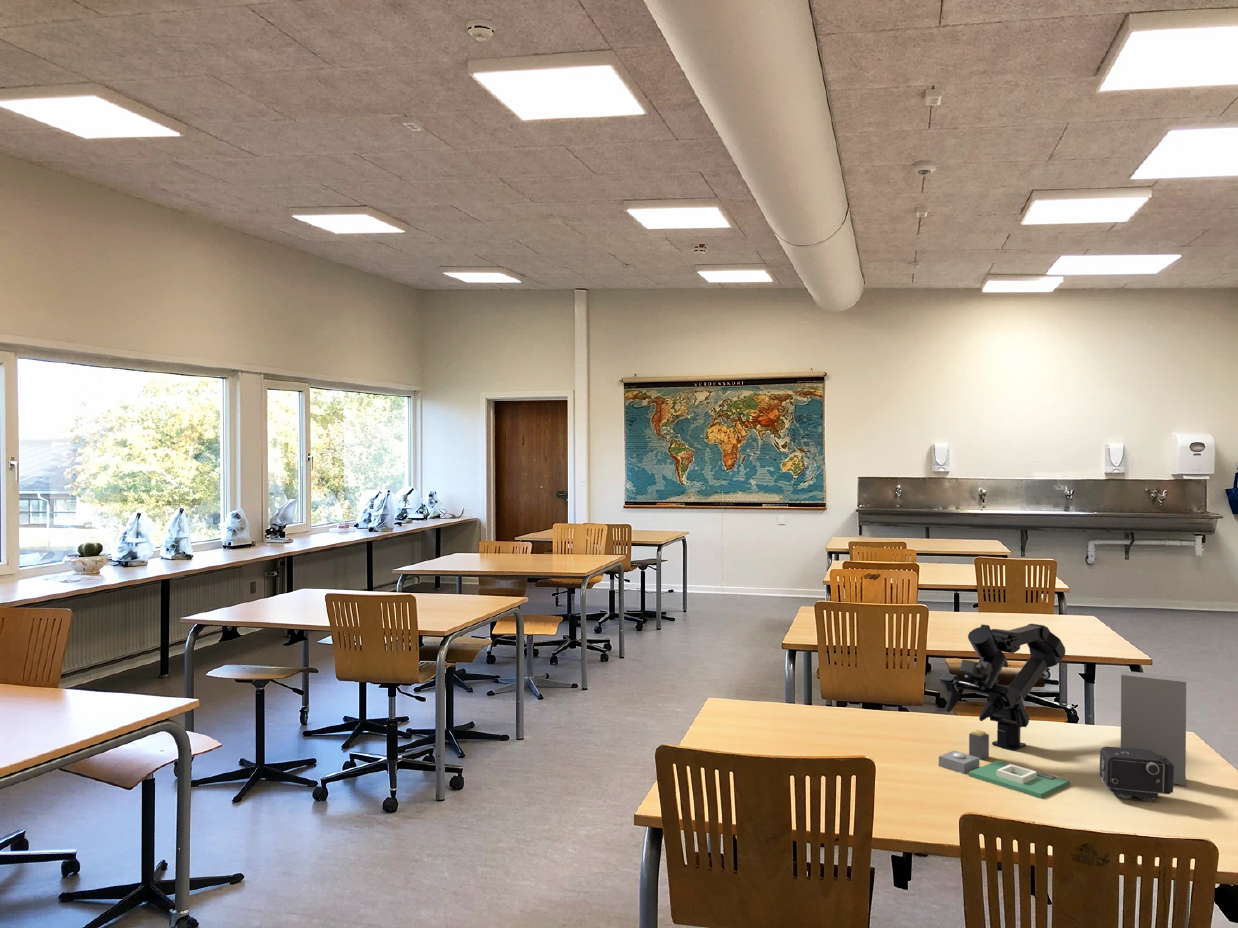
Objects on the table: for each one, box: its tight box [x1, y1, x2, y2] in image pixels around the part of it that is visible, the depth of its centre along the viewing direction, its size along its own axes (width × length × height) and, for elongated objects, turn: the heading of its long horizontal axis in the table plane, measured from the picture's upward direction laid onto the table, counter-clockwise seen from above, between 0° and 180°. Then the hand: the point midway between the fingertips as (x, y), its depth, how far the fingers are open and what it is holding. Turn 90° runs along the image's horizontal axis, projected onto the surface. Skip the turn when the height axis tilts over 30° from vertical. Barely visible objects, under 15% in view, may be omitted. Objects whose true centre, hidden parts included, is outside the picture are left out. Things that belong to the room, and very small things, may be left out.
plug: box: [968, 729, 990, 761], centre depth 233 cm, size 4×4×7 cm
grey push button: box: [938, 750, 980, 775], centre depth 225 cm, size 7×7×3 cm
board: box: [968, 759, 1071, 799], centre depth 216 cm, size 14×18×2 cm
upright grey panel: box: [1120, 670, 1187, 786], centre depth 218 cm, size 14×6×25 cm, turn 59°
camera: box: [1098, 746, 1174, 802], centre depth 205 cm, size 10×11×14 cm
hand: (963, 715), depth 228 cm, fingers open, 9 cm apart
